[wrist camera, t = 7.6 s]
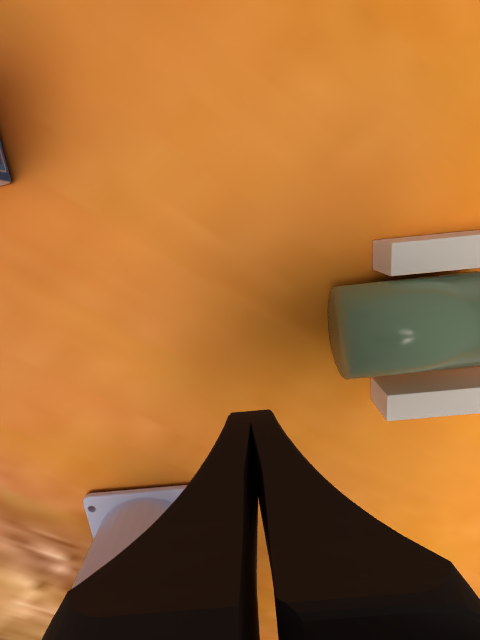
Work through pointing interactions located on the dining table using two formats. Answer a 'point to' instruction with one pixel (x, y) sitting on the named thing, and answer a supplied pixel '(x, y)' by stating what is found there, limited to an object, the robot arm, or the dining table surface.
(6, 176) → the ink cartridge box
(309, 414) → the dining table surface
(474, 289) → the bottle
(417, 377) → the rest
